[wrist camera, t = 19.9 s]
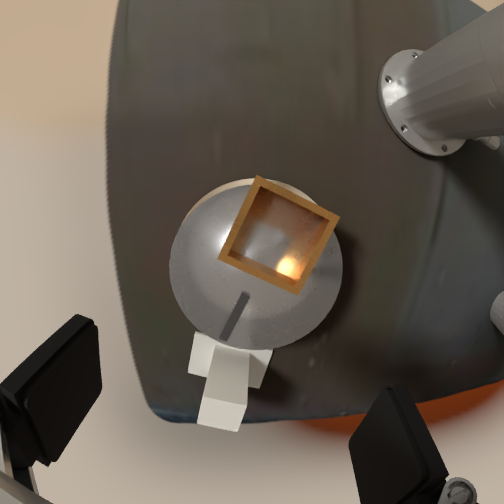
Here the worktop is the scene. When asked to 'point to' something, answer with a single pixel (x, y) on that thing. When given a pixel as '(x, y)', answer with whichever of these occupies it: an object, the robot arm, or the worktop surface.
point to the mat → (206, 345)
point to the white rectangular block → (225, 389)
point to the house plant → (498, 312)
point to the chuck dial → (256, 266)
